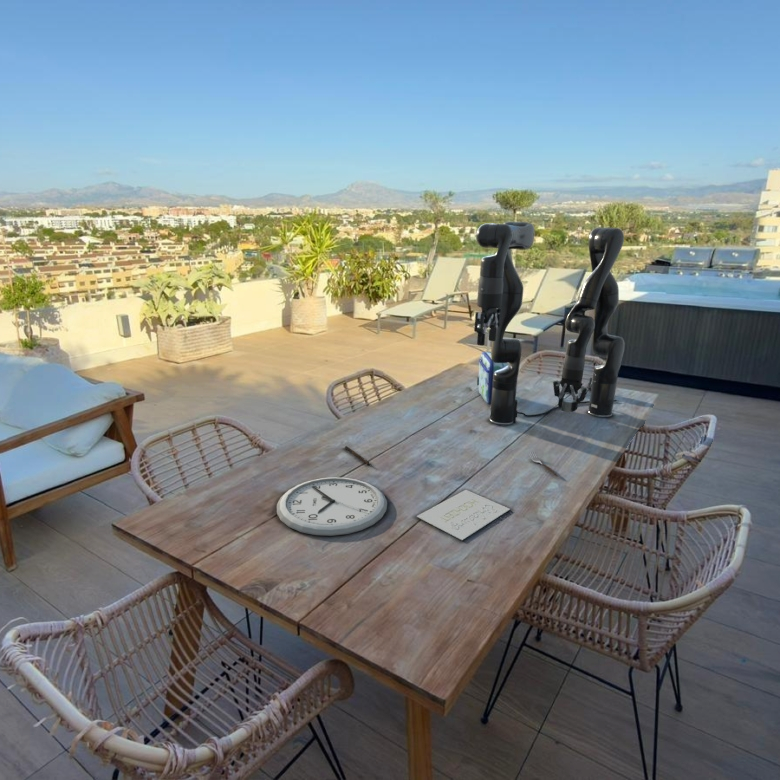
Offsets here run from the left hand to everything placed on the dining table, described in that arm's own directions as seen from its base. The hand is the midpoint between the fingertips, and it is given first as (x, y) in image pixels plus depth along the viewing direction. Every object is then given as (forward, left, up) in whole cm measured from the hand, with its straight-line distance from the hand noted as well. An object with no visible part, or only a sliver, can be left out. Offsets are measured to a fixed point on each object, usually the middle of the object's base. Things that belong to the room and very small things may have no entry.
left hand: (486, 342), depth 166 cm
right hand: (-45, -19, -32) cm, 59 cm away
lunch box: (-29, -53, -38) cm, 72 cm away
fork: (-16, +15, -38) cm, 44 cm away
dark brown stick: (+41, -6, -38) cm, 56 cm away
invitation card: (+20, +36, -38) cm, 56 cm away
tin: (-45, -19, -33) cm, 59 cm away
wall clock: (+53, +24, -38) cm, 70 cm away
